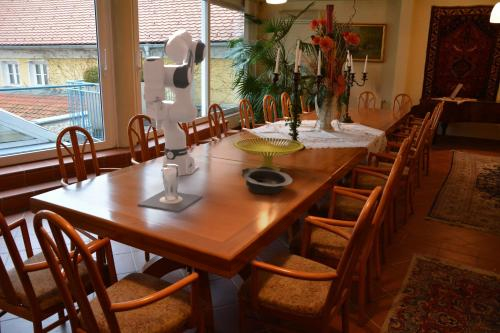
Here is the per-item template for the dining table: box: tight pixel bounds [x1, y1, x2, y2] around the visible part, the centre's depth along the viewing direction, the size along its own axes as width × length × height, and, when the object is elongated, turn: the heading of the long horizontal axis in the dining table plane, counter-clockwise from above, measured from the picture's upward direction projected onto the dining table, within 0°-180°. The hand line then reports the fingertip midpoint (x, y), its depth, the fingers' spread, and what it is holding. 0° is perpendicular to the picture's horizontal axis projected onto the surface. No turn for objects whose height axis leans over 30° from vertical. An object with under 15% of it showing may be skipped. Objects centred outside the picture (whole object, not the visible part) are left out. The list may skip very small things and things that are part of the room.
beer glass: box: [161, 164, 180, 202], centre depth 172 cm, size 7×7×15 cm
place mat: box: [137, 189, 203, 214], centre depth 173 cm, size 20×20×1 cm
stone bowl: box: [241, 165, 293, 195], centre depth 191 cm, size 25×25×9 cm
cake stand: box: [232, 137, 305, 172], centre depth 226 cm, size 40×40×15 cm
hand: (156, 128), depth 171 cm, fingers open, 8 cm apart
